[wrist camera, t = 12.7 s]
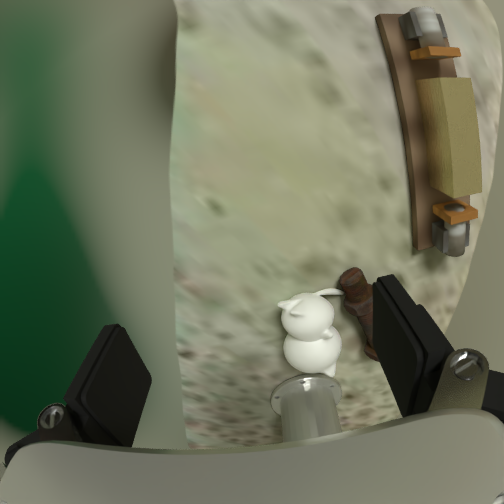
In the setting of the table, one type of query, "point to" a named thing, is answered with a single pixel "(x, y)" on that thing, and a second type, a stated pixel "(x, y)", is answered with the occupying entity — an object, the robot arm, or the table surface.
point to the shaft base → (404, 75)
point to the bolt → (360, 304)
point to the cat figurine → (311, 332)
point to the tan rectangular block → (451, 135)
